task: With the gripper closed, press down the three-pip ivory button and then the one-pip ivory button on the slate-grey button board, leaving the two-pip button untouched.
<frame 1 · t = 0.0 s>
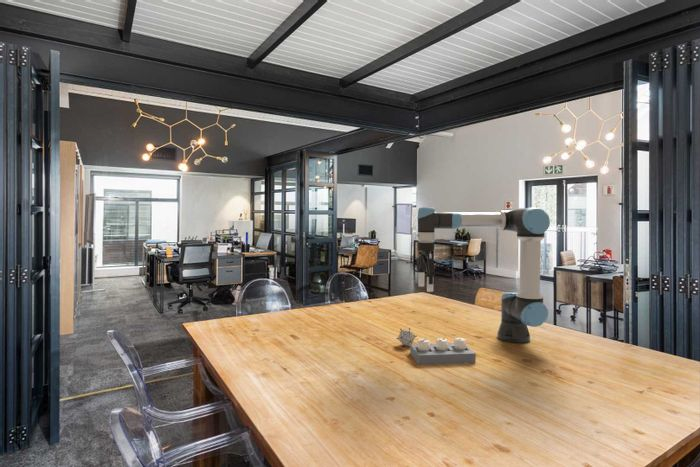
hand: (425, 288, 181), 28 cm above the table, fingers open, 13 cm apart
button 1: (459, 345, 172), point 5 cm above the table, slide at 0.0 cm
button board: (441, 358, 172), on the table
button 2: (441, 345, 171), point 5 cm above the table, slide at 0.0 cm
button 3: (423, 346, 171), point 5 cm above the table, slide at 0.0 cm
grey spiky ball: (406, 346, 188), on the table
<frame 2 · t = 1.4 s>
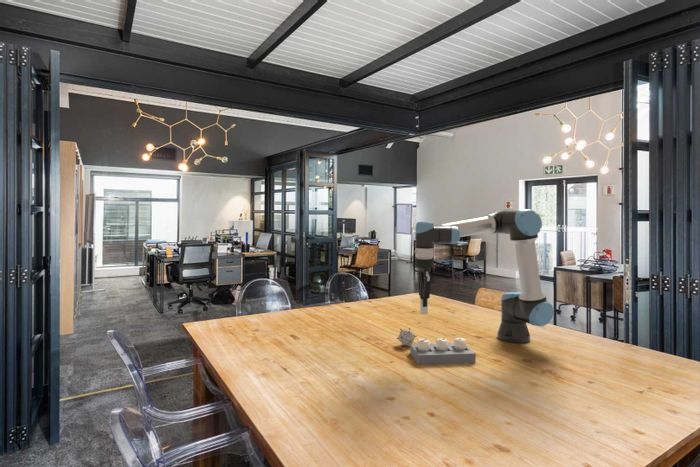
hand: (423, 313, 170), 19 cm above the table, fingers closed
nothing on the table moved.
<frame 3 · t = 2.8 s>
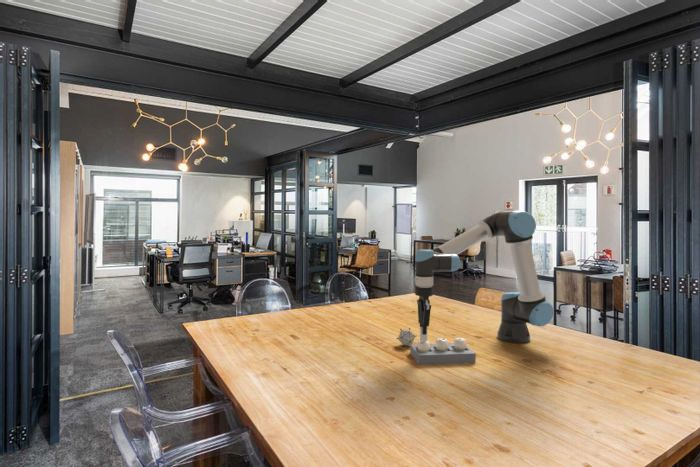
hand: (423, 341, 170), 8 cm above the table, fingers closed
button 3: (423, 347, 171), point 5 cm above the table, slide at 0.7 cm, touching gripper
everything else where it was.
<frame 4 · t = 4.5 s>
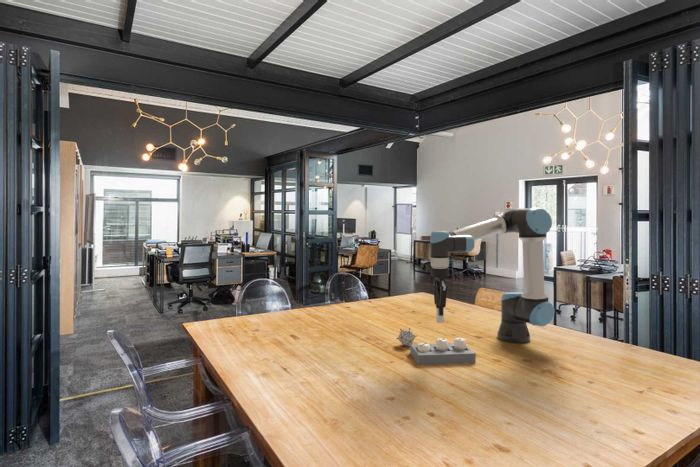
hand: (440, 322, 171), 15 cm above the table, fingers closed
button 3: (423, 350, 171), point 4 cm above the table, slide at 1.8 cm
everything else where it was.
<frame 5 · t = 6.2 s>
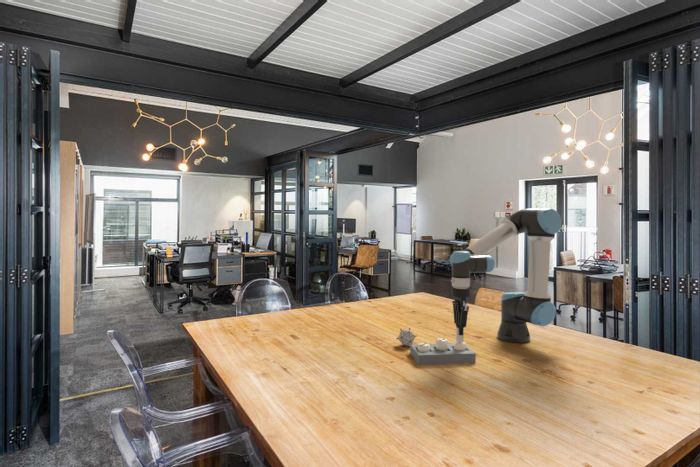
hand: (459, 341, 172), 7 cm above the table, fingers closed
button 1: (459, 348, 172), point 4 cm above the table, slide at 1.4 cm
everything else where it was.
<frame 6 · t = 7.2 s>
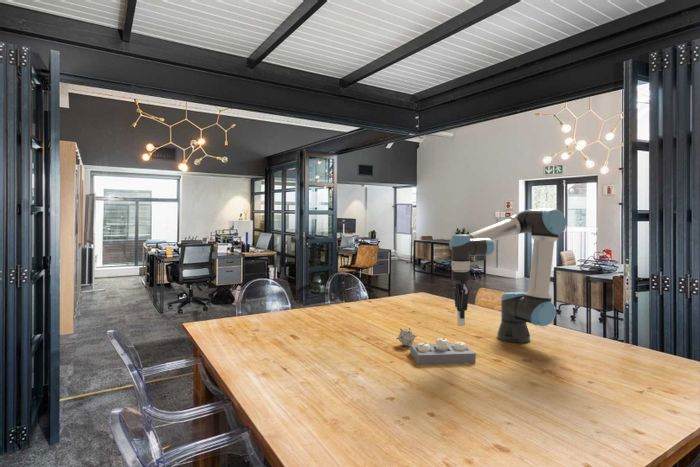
hand: (461, 325, 172), 14 cm above the table, fingers closed
button 1: (459, 349, 172), point 4 cm above the table, slide at 1.8 cm
everything else where it was.
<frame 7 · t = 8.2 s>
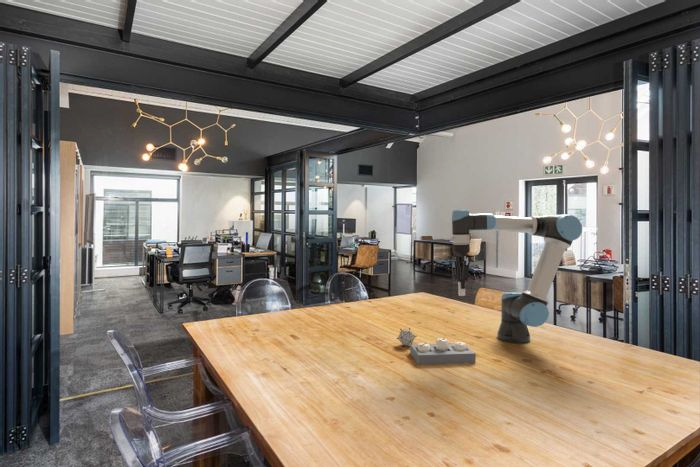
hand: (461, 295, 182), 25 cm above the table, fingers closed
nothing on the table moved.
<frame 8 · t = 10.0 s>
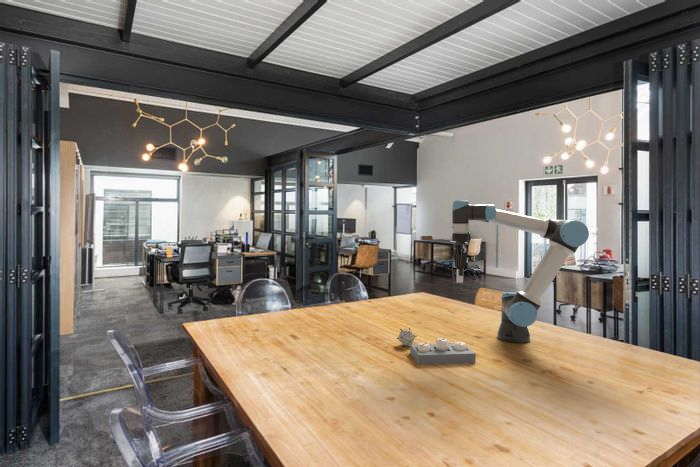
hand: (459, 282, 191), 29 cm above the table, fingers closed
nothing on the table moved.
at the end: button 3 slide at 1.8 cm; button 1 slide at 1.8 cm; button 2 slide at 0.0 cm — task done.
